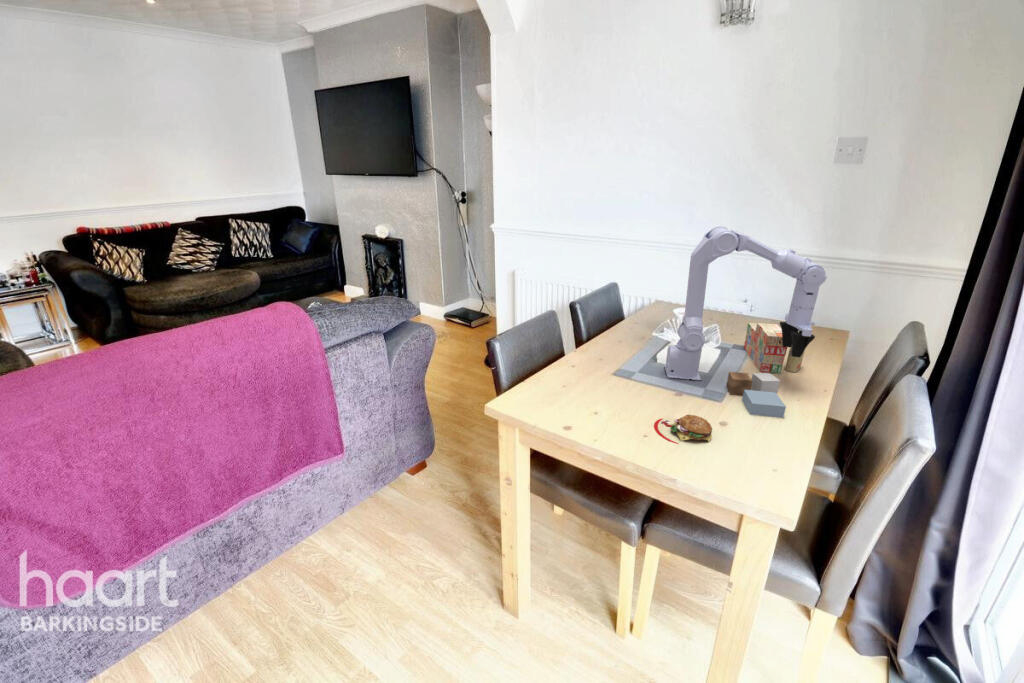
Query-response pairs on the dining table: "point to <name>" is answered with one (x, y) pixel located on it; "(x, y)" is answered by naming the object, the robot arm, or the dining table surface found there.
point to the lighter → (793, 362)
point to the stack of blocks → (765, 347)
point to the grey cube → (764, 382)
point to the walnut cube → (738, 383)
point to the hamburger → (688, 428)
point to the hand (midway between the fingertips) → (791, 351)
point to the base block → (763, 403)
